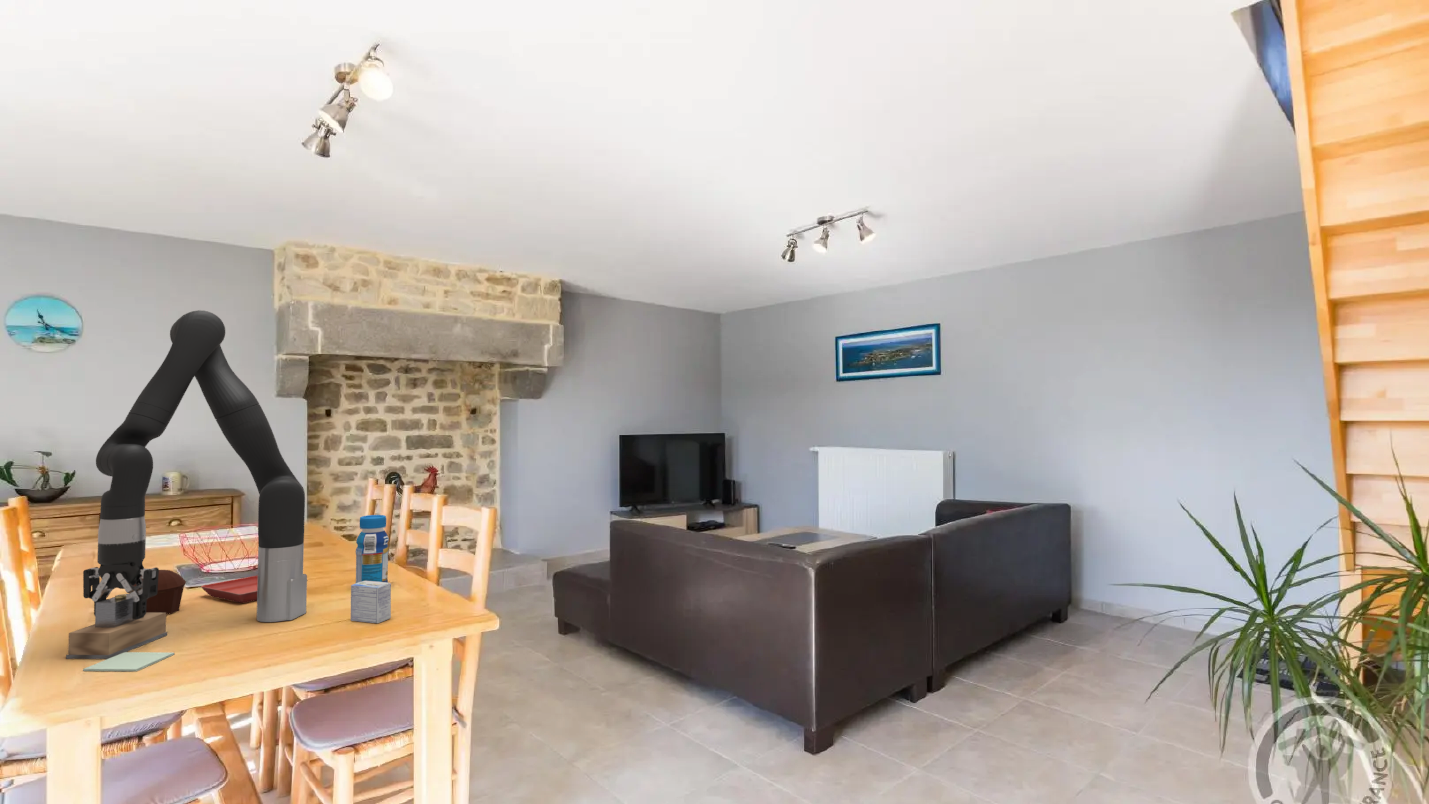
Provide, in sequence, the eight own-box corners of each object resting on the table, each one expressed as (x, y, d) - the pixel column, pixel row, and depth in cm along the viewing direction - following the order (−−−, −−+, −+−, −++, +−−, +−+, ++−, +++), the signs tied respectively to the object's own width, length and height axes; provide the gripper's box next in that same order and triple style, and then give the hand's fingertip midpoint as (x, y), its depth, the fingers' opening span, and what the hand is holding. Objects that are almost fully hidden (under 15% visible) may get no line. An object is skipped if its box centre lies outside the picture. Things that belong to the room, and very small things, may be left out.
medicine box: (391, 618, 161) (392, 582, 161) (377, 624, 157) (378, 587, 157) (364, 615, 163) (365, 580, 164) (349, 621, 159) (350, 584, 159)
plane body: (167, 635, 148) (167, 612, 148) (108, 658, 133) (109, 633, 133) (128, 634, 148) (129, 611, 148) (66, 658, 133) (66, 633, 133)
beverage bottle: (347, 589, 187) (349, 517, 188) (373, 582, 195) (375, 513, 196) (369, 592, 184) (370, 519, 184) (395, 585, 192) (396, 515, 192)
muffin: (194, 610, 166) (195, 570, 166) (138, 622, 157) (139, 579, 157) (172, 603, 172) (173, 564, 172) (117, 614, 163) (118, 572, 163)
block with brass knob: (143, 617, 144) (144, 590, 144) (114, 627, 137) (115, 599, 137) (124, 617, 144) (125, 590, 144) (95, 627, 137) (95, 599, 137)
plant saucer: (269, 583, 194) (269, 572, 195) (308, 591, 187) (309, 579, 187) (198, 598, 178) (199, 585, 178) (239, 607, 170) (239, 594, 170)
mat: (174, 654, 136) (174, 652, 136) (136, 671, 127) (136, 669, 127) (124, 654, 136) (124, 652, 136) (83, 671, 127) (83, 668, 127)
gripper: (171, 536, 145) (169, 613, 144) (103, 535, 145) (101, 612, 144) (141, 542, 137) (139, 624, 137) (70, 542, 137) (68, 623, 137)
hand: (120, 618), depth 141 cm, fingers open, 7 cm apart
